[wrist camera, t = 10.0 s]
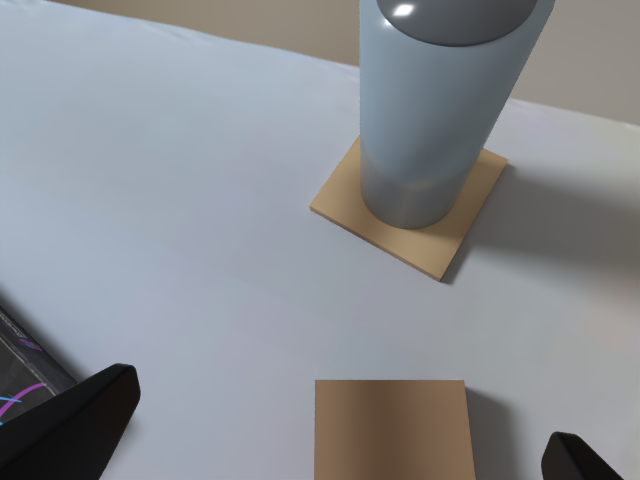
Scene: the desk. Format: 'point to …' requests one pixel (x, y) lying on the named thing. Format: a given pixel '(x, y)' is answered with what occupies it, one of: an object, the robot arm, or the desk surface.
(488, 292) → the desk surface
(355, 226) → the coaster
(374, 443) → the walnut block
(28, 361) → the box
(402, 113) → the tumbler
